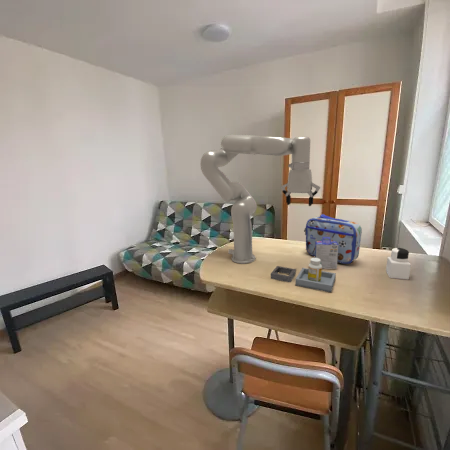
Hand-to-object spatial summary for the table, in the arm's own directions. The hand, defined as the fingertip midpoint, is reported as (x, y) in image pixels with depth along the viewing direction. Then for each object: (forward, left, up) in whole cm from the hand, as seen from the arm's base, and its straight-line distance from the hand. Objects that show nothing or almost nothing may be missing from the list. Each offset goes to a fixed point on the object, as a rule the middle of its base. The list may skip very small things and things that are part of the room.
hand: (299, 205), depth 119 cm
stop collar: (-3, -13, -30) cm, 33 cm away
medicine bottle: (+41, +8, -31) cm, 52 cm away
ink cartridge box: (+12, +5, -31) cm, 33 cm away
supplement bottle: (+10, -13, -30) cm, 34 cm away
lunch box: (+12, +17, -31) cm, 37 cm away
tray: (+11, -13, -30) cm, 35 cm away
